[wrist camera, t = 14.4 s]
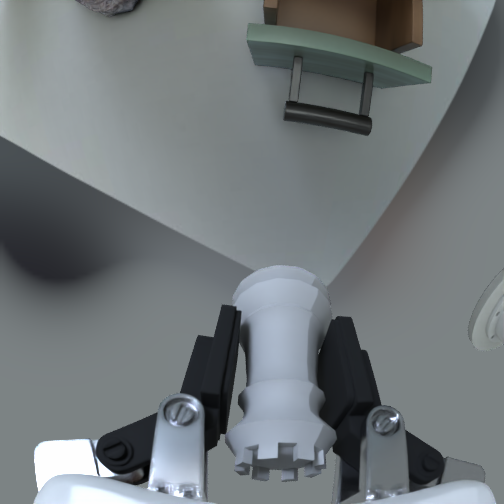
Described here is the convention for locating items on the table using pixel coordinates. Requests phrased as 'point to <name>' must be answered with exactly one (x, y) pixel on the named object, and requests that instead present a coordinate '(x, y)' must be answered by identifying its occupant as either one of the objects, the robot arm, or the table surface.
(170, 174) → the table surface
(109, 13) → the geode
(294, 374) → the rook chess piece
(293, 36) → the drawer
